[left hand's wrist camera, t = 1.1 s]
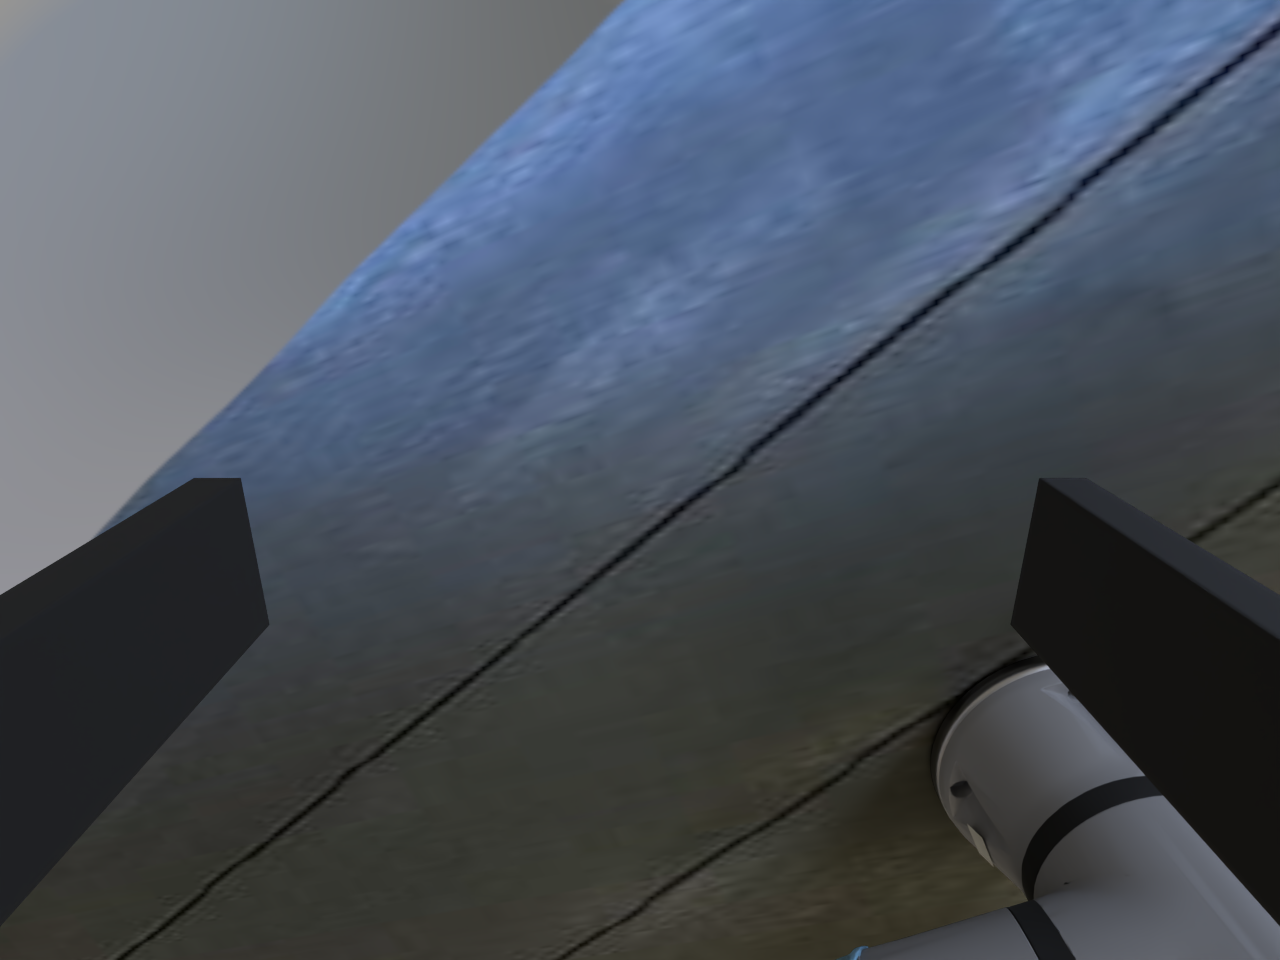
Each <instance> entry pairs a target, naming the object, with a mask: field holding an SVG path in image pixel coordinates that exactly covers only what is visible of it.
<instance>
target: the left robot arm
mask: <svg viewBox="0 0 1280 960" xmlns="http://www.w3.org/2000/svg"><path fill="white" fill-rule="evenodd" d="M268 626H269V620H268V615H267V610H266V605H265V600H264V595H263V590H262V585H261V579H260V574H259V569H258V564H257V559H256V554H255V549H254V544H253V539H252V533H251V528H250V523H249V518H248V513H247V508H246V503H245V498H244V493H243V487H242V482H241V478H193V479H192V480H190V481H188V482H187V483H185V484H184V485H182V486H180V487H179V488H177V489H175V490H174V491H172V492H170V493H169V494H167V495H165V496H164V497H162V498H160V499H159V500H157V501H155V502H154V503H152V504H150V505H149V506H147V507H145V508H144V509H142V510H140V511H139V512H137V513H135V514H134V515H132V516H131V517H129V518H127V519H126V520H124V521H122V522H121V523H119V524H117V525H116V526H114V527H112V528H111V529H109V530H107V531H106V532H104V533H102V534H101V535H99V536H97V537H96V538H94V539H92V540H91V541H89V542H87V543H86V544H84V545H82V546H81V547H79V548H78V549H76V550H74V551H73V552H71V553H69V554H68V555H66V556H64V557H63V558H61V559H59V560H58V561H56V562H54V563H53V564H51V565H49V566H48V567H46V568H44V569H43V570H41V571H39V572H38V573H36V574H35V575H33V576H31V577H29V578H28V579H26V580H24V581H23V582H21V583H20V584H18V585H16V586H15V587H13V588H11V589H10V590H8V591H6V592H5V593H3V594H1V595H0V926H1V925H2V924H3V923H4V922H5V920H6V919H7V918H8V917H9V916H10V915H11V914H12V913H13V911H14V910H15V909H16V908H17V907H18V906H19V905H20V904H21V902H22V901H23V900H24V899H25V898H26V897H27V896H28V895H29V893H30V892H31V891H32V890H33V889H34V888H35V887H36V886H37V885H38V883H39V882H40V881H41V880H42V879H43V878H44V877H45V876H46V874H47V873H48V872H49V871H50V870H51V869H52V868H53V867H54V865H55V864H56V863H57V862H58V861H59V860H60V859H61V858H62V856H63V855H64V854H65V853H66V852H67V851H68V850H69V849H70V848H71V846H72V845H73V844H74V843H75V842H76V841H77V840H78V839H79V837H80V836H81V835H82V834H83V833H84V832H85V831H86V830H87V828H88V827H89V826H90V825H91V824H92V823H93V822H94V821H95V819H96V818H97V817H98V816H99V815H100V814H101V813H102V812H103V811H104V809H105V808H106V807H107V806H108V805H109V804H110V803H111V802H112V800H113V799H114V798H115V797H116V796H117V795H118V794H119V793H120V791H121V790H122V789H123V788H124V787H125V786H126V785H127V784H128V782H129V781H130V780H131V779H132V778H133V777H134V776H135V775H136V774H137V772H138V771H139V770H140V769H141V768H142V767H143V766H144V765H145V763H146V762H147V761H148V760H149V759H150V758H151V757H152V756H153V754H154V753H155V752H156V751H157V750H158V749H159V748H160V747H161V745H162V744H163V743H164V742H165V741H166V740H167V739H168V738H169V737H170V735H171V734H172V733H173V732H174V731H175V730H176V729H177V728H178V726H179V725H180V724H181V723H182V722H183V721H184V720H185V719H186V717H187V716H188V715H189V714H190V713H191V712H192V711H193V710H194V708H195V707H196V706H197V705H198V704H199V703H200V702H201V701H202V700H203V698H204V697H205V696H206V695H207V694H208V693H209V692H210V691H211V689H212V688H213V687H214V686H215V685H216V684H217V683H218V682H219V680H220V679H221V678H222V677H223V676H224V675H225V674H226V673H227V671H228V670H229V669H230V668H231V667H232V666H233V665H234V664H235V663H236V661H237V660H238V659H239V658H240V657H241V656H242V655H243V654H244V652H245V651H246V650H247V649H248V648H249V647H250V646H251V645H252V643H253V642H254V641H255V640H256V639H257V638H258V637H259V636H260V634H261V633H262V632H263V631H264V630H265V629H266V628H267V627H268ZM1011 626H1012V627H1013V628H1014V629H1015V630H1016V631H1017V632H1018V633H1019V634H1020V636H1021V637H1022V638H1023V639H1024V640H1025V641H1026V642H1027V643H1028V645H1029V646H1030V647H1031V648H1032V649H1033V650H1034V651H1035V652H1036V654H1037V655H1038V656H1036V657H1032V658H1029V659H1025V660H1022V661H1019V662H1017V663H1014V664H1012V665H1009V666H1007V667H1005V668H1003V669H1001V670H999V671H997V672H995V673H993V674H992V675H990V676H988V677H987V678H985V679H984V680H982V681H981V682H979V683H978V684H977V685H975V686H974V687H973V688H972V689H971V690H969V691H968V692H967V693H966V694H965V695H964V696H963V697H962V698H961V699H960V700H959V701H958V702H957V703H956V704H955V706H954V707H953V708H952V709H951V711H950V712H949V713H948V715H947V716H946V718H945V719H944V721H943V723H942V725H941V726H940V729H939V731H938V733H937V735H936V738H935V741H934V744H933V748H932V753H931V776H932V781H933V785H934V788H935V791H936V793H937V795H938V797H939V799H940V801H941V803H942V805H943V807H944V809H945V811H946V813H947V814H948V816H949V818H950V819H951V820H952V822H953V823H954V824H955V826H956V827H957V828H958V830H959V831H960V832H961V834H962V835H963V836H964V837H965V838H966V839H967V840H968V841H969V842H970V843H971V844H972V845H974V846H975V847H976V848H977V849H978V852H979V853H980V854H981V855H982V856H983V857H984V858H985V859H986V860H987V861H988V862H989V863H990V864H991V865H992V866H993V864H994V865H995V866H996V867H997V868H998V869H999V870H1000V871H1001V872H1002V873H1003V874H1004V875H1005V876H1007V877H1008V878H1009V879H1010V880H1011V881H1012V882H1013V883H1014V884H1015V885H1016V886H1017V887H1018V888H1019V889H1020V890H1021V891H1023V893H1024V894H1025V896H1026V898H1027V899H1028V901H1027V902H1024V903H1021V904H1017V905H1014V906H1011V907H1005V908H1002V909H998V910H995V911H992V912H989V913H985V914H982V915H979V916H975V917H972V918H969V919H965V920H962V921H959V922H956V923H952V924H949V925H946V926H942V927H939V928H936V929H932V930H929V931H926V932H923V933H919V934H916V935H913V936H909V937H906V938H903V939H899V940H895V941H892V942H888V943H885V944H881V945H877V946H874V947H870V948H868V946H861V947H857V948H855V949H854V950H853V951H852V952H851V953H850V954H849V955H846V956H844V957H841V958H838V959H836V960H1280V595H1279V594H1277V593H1275V592H1274V591H1272V590H1270V589H1269V588H1267V587H1265V586H1264V585H1262V584H1260V583H1259V582H1257V581H1256V580H1254V579H1252V578H1251V577H1249V576H1247V575H1246V574H1244V573H1242V572H1241V571H1239V570H1237V569H1236V568H1234V567H1232V566H1231V565H1229V564H1227V563H1226V562H1224V561H1222V560H1221V559H1219V558H1217V557H1216V556H1214V555H1212V554H1211V553H1209V552H1207V551H1206V550H1204V549H1202V548H1201V547H1199V546H1198V545H1196V544H1194V543H1193V542H1191V541H1189V540H1188V539H1186V538H1184V537H1183V536H1181V535H1179V534H1178V533H1176V532H1174V531H1173V530H1171V529H1169V528H1168V527H1166V526H1164V525H1163V524H1161V523H1159V522H1158V521H1156V520H1154V519H1153V518H1151V517H1149V516H1148V515H1146V514H1145V513H1143V512H1141V511H1140V510H1138V509H1136V508H1135V507H1133V506H1131V505H1130V504H1128V503H1126V502H1125V501H1123V500H1121V499H1120V498H1118V497H1116V496H1115V495H1113V494H1111V493H1110V492H1108V491H1106V490H1105V489H1103V488H1101V487H1100V486H1098V485H1096V484H1095V483H1093V482H1092V481H1090V480H1088V479H1087V478H1039V482H1038V487H1037V493H1036V498H1035V503H1034V508H1033V513H1032V518H1031V523H1030V528H1029V533H1028V539H1027V544H1026V549H1025V554H1024V559H1023V564H1022V569H1021V574H1020V579H1019V585H1018V590H1017V595H1016V600H1015V605H1014V610H1013V615H1012V620H1011ZM993 867H994V866H993Z"/></svg>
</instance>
